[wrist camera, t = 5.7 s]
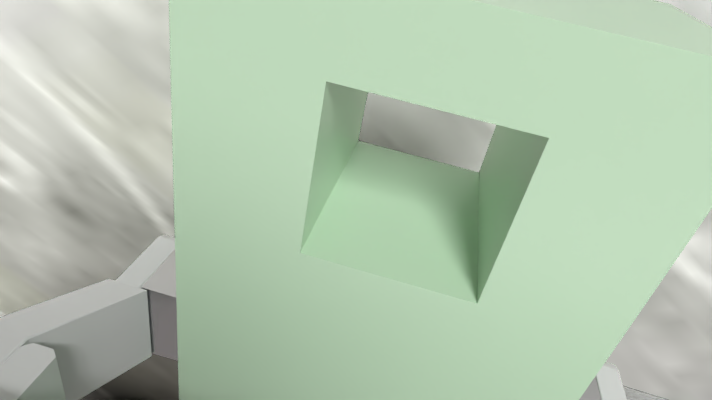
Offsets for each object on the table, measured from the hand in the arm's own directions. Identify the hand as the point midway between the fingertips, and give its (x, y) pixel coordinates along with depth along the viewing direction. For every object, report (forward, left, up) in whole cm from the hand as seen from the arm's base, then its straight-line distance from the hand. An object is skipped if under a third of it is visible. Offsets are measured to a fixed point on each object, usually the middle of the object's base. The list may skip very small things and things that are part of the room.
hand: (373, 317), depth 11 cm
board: (0, 0, -2) cm, 2 cm away
